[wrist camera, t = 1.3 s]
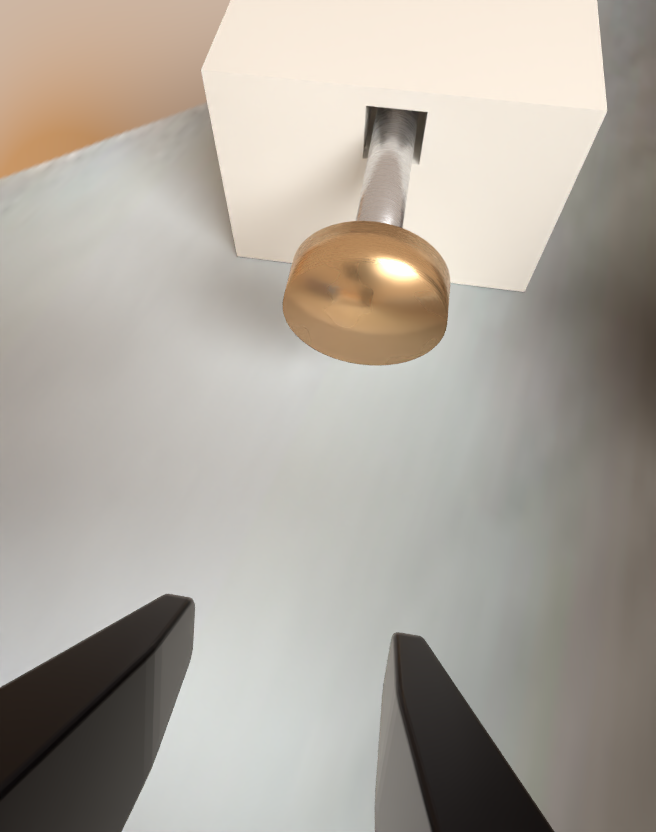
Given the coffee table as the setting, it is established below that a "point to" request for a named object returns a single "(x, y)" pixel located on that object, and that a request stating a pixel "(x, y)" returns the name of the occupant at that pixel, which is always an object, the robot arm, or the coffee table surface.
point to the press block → (436, 128)
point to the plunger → (372, 267)
